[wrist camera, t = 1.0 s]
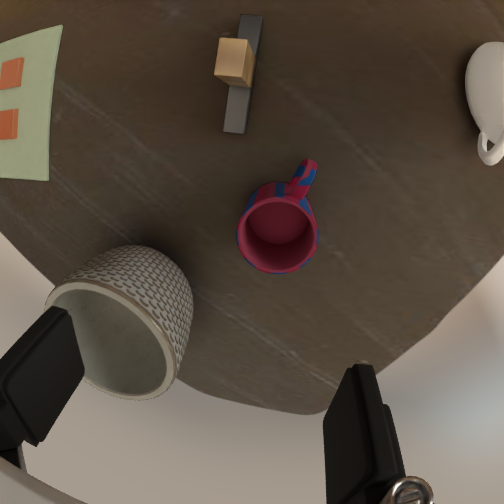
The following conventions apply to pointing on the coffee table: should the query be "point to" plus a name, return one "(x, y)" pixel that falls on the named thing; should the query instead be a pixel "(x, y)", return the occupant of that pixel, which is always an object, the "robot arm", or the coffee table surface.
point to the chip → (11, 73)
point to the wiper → (239, 71)
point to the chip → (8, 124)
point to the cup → (280, 224)
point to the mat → (30, 104)
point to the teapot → (487, 98)
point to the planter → (128, 320)
